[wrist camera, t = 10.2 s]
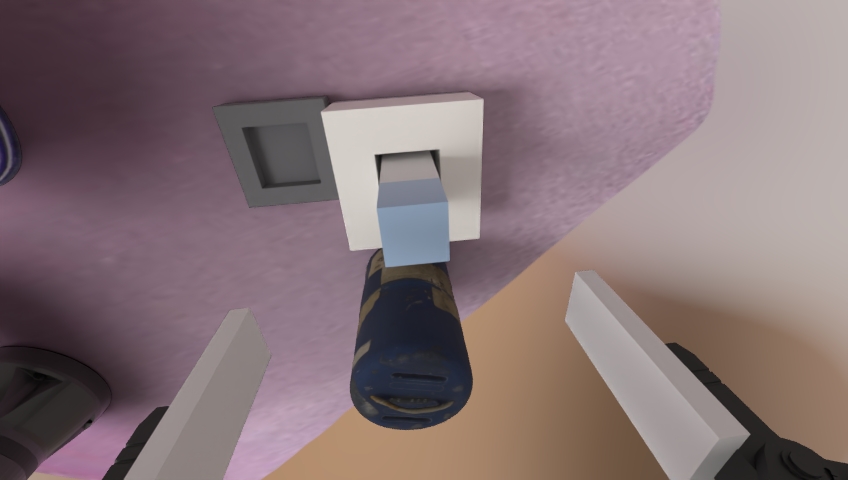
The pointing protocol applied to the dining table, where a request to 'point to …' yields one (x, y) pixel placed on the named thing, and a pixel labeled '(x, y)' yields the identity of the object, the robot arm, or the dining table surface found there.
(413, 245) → the plug
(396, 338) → the canister
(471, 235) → the block
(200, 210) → the dining table surface
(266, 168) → the gray recessed square plate
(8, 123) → the vase
